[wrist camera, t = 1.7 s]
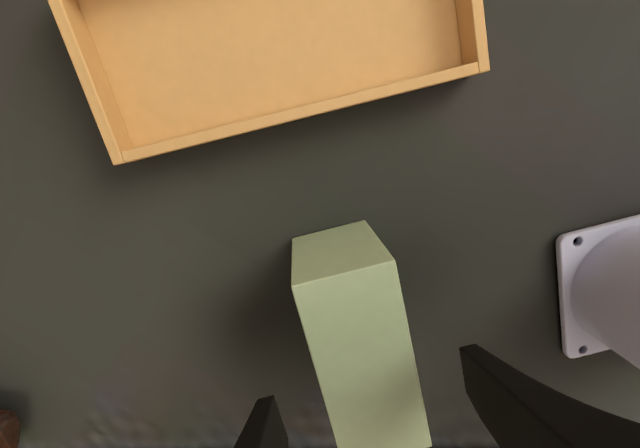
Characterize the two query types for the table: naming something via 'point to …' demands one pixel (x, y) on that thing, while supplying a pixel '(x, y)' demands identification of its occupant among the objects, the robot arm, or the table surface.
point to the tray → (255, 62)
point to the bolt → (9, 429)
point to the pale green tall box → (359, 338)
